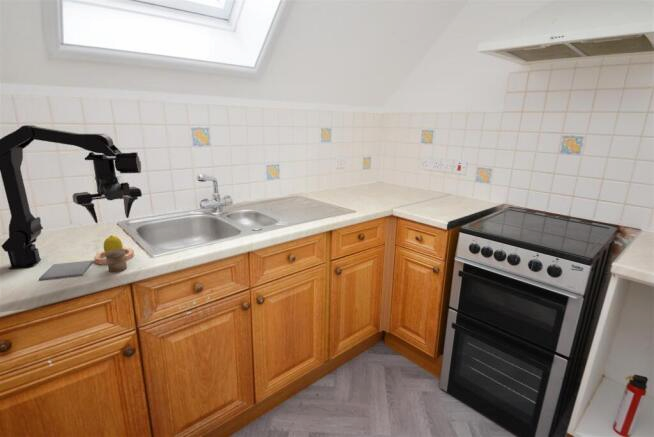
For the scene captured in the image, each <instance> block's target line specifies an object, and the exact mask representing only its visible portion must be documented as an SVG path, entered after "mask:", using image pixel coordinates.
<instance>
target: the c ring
mask: <svg viewBox="0 0 654 437" xmlns="http://www.w3.org/2000/svg"><path fill="white" fill-rule="evenodd" d="M123 249H124V250H125V258H126V262H127V261H129V260H130V259H133V258H134V256H135V250H134V249H133V248H131V247H123ZM104 257H105V258H104ZM93 259H94V260H93V261H94V262H95V263H97V264H98V265H108V263H107V258H106V256H105V251H104V250H102V251H100V252H97V253H96V254H95V255H94V256H93Z"/></svg>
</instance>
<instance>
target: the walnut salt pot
mask: <svg viewBox="0 0 654 437" xmlns="http://www.w3.org/2000/svg"><path fill="white" fill-rule="evenodd" d="M125 255H126V253H125V250H124V249H115V250H110V251H108V252H106V253H105V258H107V268H108V272H109V273H121V272H124V271H126V270H127V268H128V264H127V261H126V258H125Z"/></svg>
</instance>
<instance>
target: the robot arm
mask: <svg viewBox="0 0 654 437" xmlns="http://www.w3.org/2000/svg"><path fill="white" fill-rule="evenodd" d="M35 140H36V141H42V142H49V143H55V144H61V145H67V146H68V145H69V146H74V147H79V148H81V149H83V150H85V151H89V153H88V155H87V156H85V157H84V161H92V165H93V171H94V180H95V184H96V188H97V189H96V193H89V192H87V191H83V192H75V193H73V195H72V202H73V203H74V204H76V205H78V206H82V207H84V208H85V209H86V210H87V212H88V213H89V214H90V216H91V218H92V220H93V221H94V223H95V224H98V216H97V213H96V209H95V203H93V201H95V200H103V199H106V200H107V201H115V200H122V199H123V207H124V208H123V209H124V215H125V218H126V219H128V218H129V217H130V213H131V209H132V206H133V203H134V202H135V201H136V200H138V199H139V197H140V198H141V197H143V193H142V190H141V189H140V188H139V187H136V186H130V183H129V182H121V183H119V180H118V177H117V174H116V171H117V172H119V173H120V174H141V173H142V162H141V160H140V157H139V154H138V152H137V151H136V152H135V151H134V152H133V151H132V152H122V151H121V150H120V149H119V148H118V147H117V146H116V145H115V144H114V140H113V139H112V138H111V137H110V136H109V135H108V134H106V133H77V132H72V131H66V130H59V129H53V128H47V127H41V126H36V125H33V124H31V125H30V124H29V125H28V124H27V125H22V126H20V127H19V128H18V129H16V130H14V131H12V132H11V133H9V134H7V135H4V136H3V137H1V138H0V177H1V180H2V184H3V185H2V186H3V188H4V192H5V196H6V200H7V203H8V207H9V208H8V209H9V212H10V220H9V224H8V238H7V239H6V240H5V241H4V242H3V244H1V249H3V251H4V252H5V253H6V252H7V256H8V259H9V263H10V266H8V267H7V268H8V270H13V269H24V268H31V267H34V266H35V265H37V264H38V263H39V262H41V260H42V258H41V257H40V252H39V249H38V248H36V242H37V238H38V237H39V236H40V235H41V234H42V230H43V229H44V227H43V226H42V224H41V222H42V221H41V217H40V216H38V217H35V216H34V214H32V212H31V209H30V205H29V200H28V196H27V191H26V188H25V184H24V178H23V174H22V170H21V166H22V163H23V158H24V154H23V153H24V152H23V149H26V147H28V146H29V145H30V144H31V143H33V141H35Z"/></svg>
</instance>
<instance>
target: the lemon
mask: <svg viewBox="0 0 654 437" xmlns="http://www.w3.org/2000/svg"><path fill="white" fill-rule="evenodd" d="M123 248H124V245H123V242H122V240H121V238H119V237H118V236H114V235H113V234H112V235H109V236H108V237H107V238H105V240H104V242H103V251H105V253H106V252H108V251H110V250H115V249H123Z"/></svg>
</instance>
